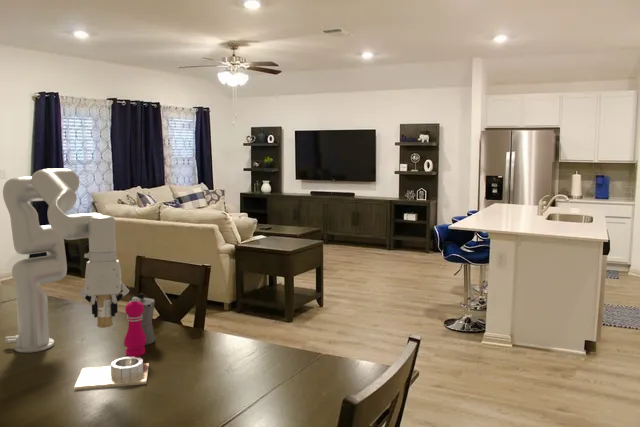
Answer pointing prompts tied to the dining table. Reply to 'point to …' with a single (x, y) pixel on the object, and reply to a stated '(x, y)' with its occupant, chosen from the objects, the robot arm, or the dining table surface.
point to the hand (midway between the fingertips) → (105, 315)
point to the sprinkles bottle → (104, 311)
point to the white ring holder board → (114, 374)
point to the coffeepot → (147, 317)
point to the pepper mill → (135, 329)
